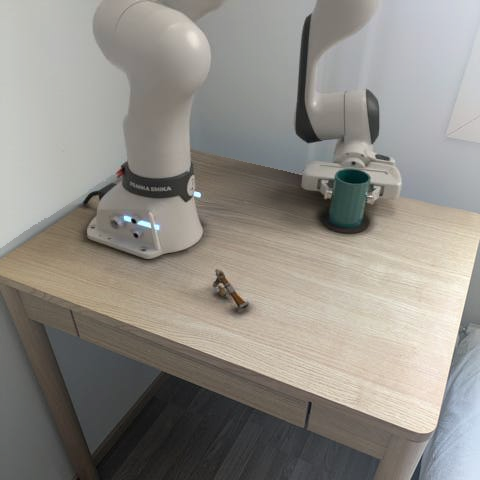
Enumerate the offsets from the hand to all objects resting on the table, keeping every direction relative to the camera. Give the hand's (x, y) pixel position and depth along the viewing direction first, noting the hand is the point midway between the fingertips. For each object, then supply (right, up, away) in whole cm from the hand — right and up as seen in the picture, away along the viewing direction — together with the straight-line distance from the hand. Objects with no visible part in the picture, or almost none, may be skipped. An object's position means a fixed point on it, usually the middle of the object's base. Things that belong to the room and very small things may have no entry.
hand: (349, 198), depth 97 cm
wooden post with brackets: (-24, -21, -15) cm, 35 cm away
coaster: (0, -4, +4) cm, 6 cm away
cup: (0, -3, +4) cm, 5 cm away
